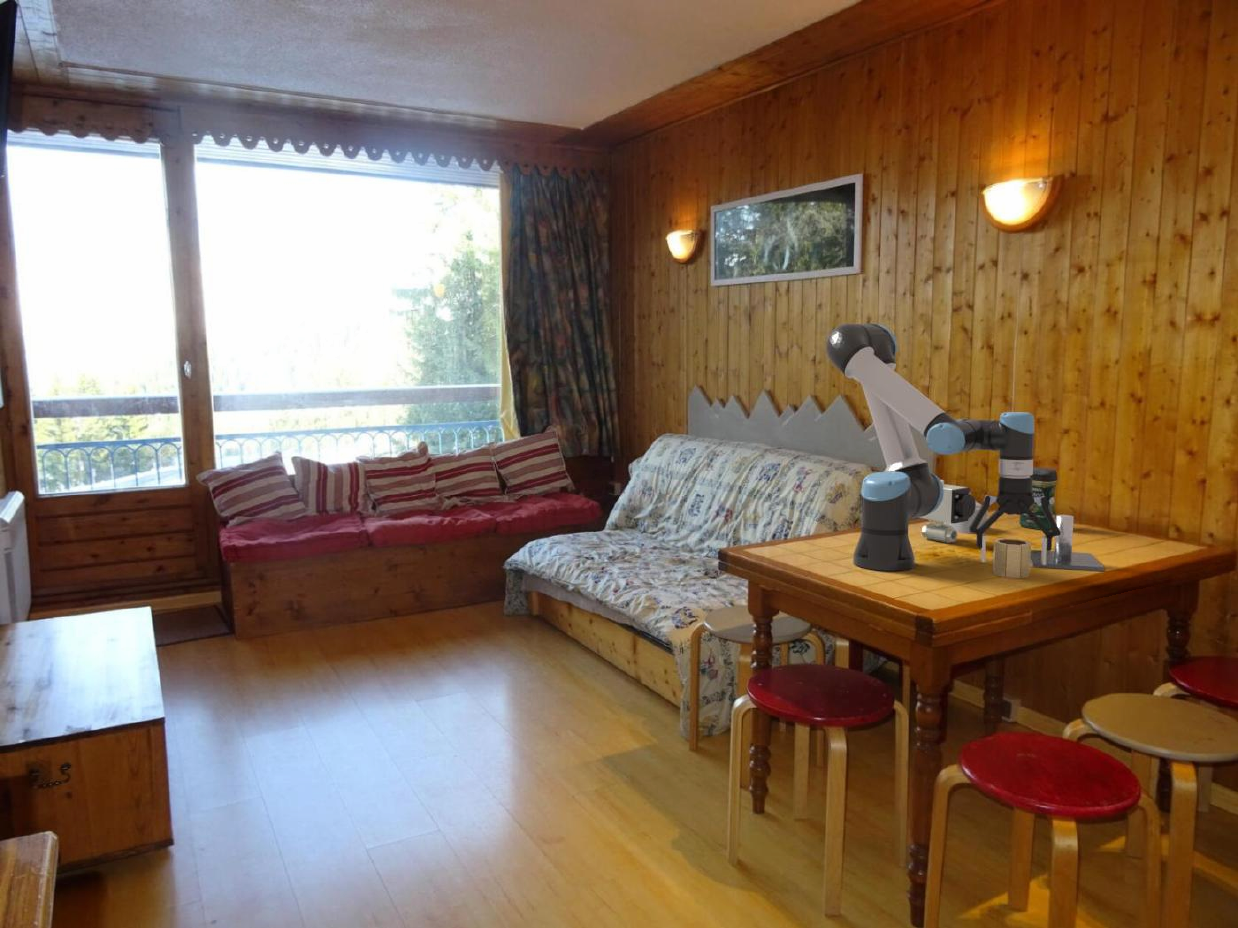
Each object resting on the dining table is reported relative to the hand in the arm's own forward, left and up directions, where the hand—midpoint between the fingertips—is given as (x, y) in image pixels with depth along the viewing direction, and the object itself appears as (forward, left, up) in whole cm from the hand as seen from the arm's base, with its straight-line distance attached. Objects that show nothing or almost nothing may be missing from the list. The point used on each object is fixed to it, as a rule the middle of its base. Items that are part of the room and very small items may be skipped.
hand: (1013, 562), depth 217 cm
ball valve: (-15, +36, -3) cm, 39 cm away
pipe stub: (+14, +17, -3) cm, 22 cm away
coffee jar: (+14, +64, -3) cm, 66 cm away
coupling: (0, 0, -3) cm, 3 cm away
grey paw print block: (-8, +56, -3) cm, 57 cm away
